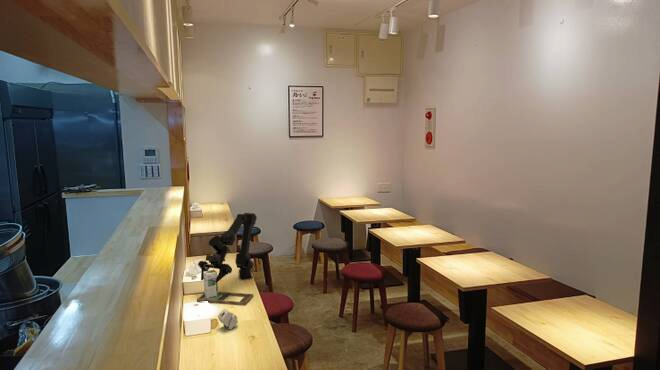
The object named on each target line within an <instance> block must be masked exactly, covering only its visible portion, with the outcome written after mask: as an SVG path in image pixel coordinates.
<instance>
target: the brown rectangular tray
mask: <svg viewBox="0 0 660 370" xmlns="http://www.w3.org/2000/svg"><path fill="white" fill-rule="evenodd" d="M229 296H231V297H243V298H242V299H241V300H239V301H237V300H236V301H235V300H225V299H226V298H228V297H229ZM254 297H255V296H254V293H245V292H242V293H241V292H230V291H218V298H216V299H206V298H205V292H204V293H203V294H201V295H200V296H199V297H197V298H196V302H197V303H201V302H200V301H208V302H209V303H208V304H219V305H220V304H221V305H235V306H246V305H248V304H249V302H250V301H251V300H252V299H253V298H254Z"/></svg>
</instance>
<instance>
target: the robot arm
mask: <svg viewBox="0 0 660 370" xmlns="http://www.w3.org/2000/svg"><path fill="white" fill-rule="evenodd" d="M256 221H257V215H256V214H255V213H253V212H244V213H238V214H236V218H235V219H234V221H233V222H232V223H231V225H230V227H229V228H228V229H227V231H224V232H223V233H222V234H221V235H220V236H219V235H216V234H215V235H214V236H213V237H211V238H210V239H209V241H208V245H209V246H210V248H211V249H213V251H215V253H213V254H212V255H211V254H206V256H205V260H199V262H198V264H197V266H198V267H199V268H200V270H201V277H200V281H201V282H202V281H203V282H204V274H203V272H204V271H209V269H214V270H219V271H218V273H217V278H216V281H215V282H216V283H217V282H220V281H221V280H222V279H223V278H225V277H226V276H227V275H229V274H232V272H233V268H232V266H230V264H229V263H224V262H225V261H226V259H225V258H226V256H227V253H230V252H231V249H230V246H231V247H232V246H233V245H234V243H235V241H236V235H237V233H238V231H239V230H240V228H241V227H243V228H242V229H243V231H242V238H241V243H240V250H239V252H238V253H236V254H235V256H236V257H235V265H236V267H237V268H238V277H239V279H241V280H247V279H248V280H249V279H252V278H253V276H252V269H253V267H254V262H253V261H252V260H251V259H252V258H251V255H250V252H249V250H250V243H251V237H252V230H253V228H254V227H255V225H256Z"/></svg>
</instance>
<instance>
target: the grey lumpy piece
mask: <svg viewBox="0 0 660 370" xmlns="http://www.w3.org/2000/svg"><path fill="white" fill-rule="evenodd" d="M217 318H218V321H219V322H220V323H221V324H222V325H223V326H224V327H225V328H226V327H227V330H229V329H231V330H232V329H234V328H235V327H234V326H236V325H237V324H238V323H239V320H238V316H237V315H236V314H235V313H233V312H231V311H229V310H228V309H226V308H224V309H222V310H221V311H220V312H219V313H218V314H217ZM233 327H234V328H233Z"/></svg>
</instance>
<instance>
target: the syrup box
mask: <svg viewBox="0 0 660 370" xmlns="http://www.w3.org/2000/svg"><path fill="white" fill-rule="evenodd" d="M203 274H204V279H203V286H204V287H203V288H204V293H205V298H206V299H216V298H218V292H219V289H218V288H219V283H218V282H219V281H218V282H217V283H216V282H215V281H216V278H217V276H218V271H216V269H210V270H208V271H204V272H203Z"/></svg>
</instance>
